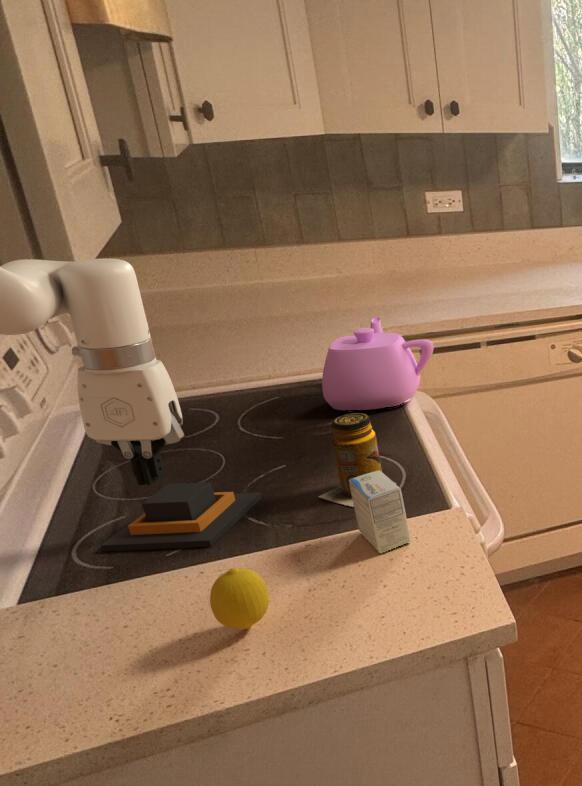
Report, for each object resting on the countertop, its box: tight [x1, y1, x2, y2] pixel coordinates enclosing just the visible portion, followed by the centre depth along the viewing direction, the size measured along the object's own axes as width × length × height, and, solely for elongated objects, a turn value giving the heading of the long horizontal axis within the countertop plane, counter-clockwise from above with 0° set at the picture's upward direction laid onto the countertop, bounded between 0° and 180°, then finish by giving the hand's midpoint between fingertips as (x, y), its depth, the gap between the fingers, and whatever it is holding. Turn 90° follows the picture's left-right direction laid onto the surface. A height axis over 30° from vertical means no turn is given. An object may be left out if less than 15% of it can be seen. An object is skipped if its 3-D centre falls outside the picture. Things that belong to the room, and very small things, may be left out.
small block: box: [141, 481, 216, 522], centre depth 112 cm, size 6×6×4 cm
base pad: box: [100, 491, 262, 552], centre depth 112 cm, size 14×14×2 cm
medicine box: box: [349, 471, 412, 554], centre depth 107 cm, size 8×4×9 cm, turn 43°
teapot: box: [321, 316, 435, 411], centre depth 159 cm, size 23×21×15 cm
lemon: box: [209, 567, 270, 630], centre depth 89 cm, size 6×6×8 cm
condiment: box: [317, 412, 397, 508], centre depth 120 cm, size 7×8×12 cm
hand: (151, 480), depth 109 cm, fingers closed
